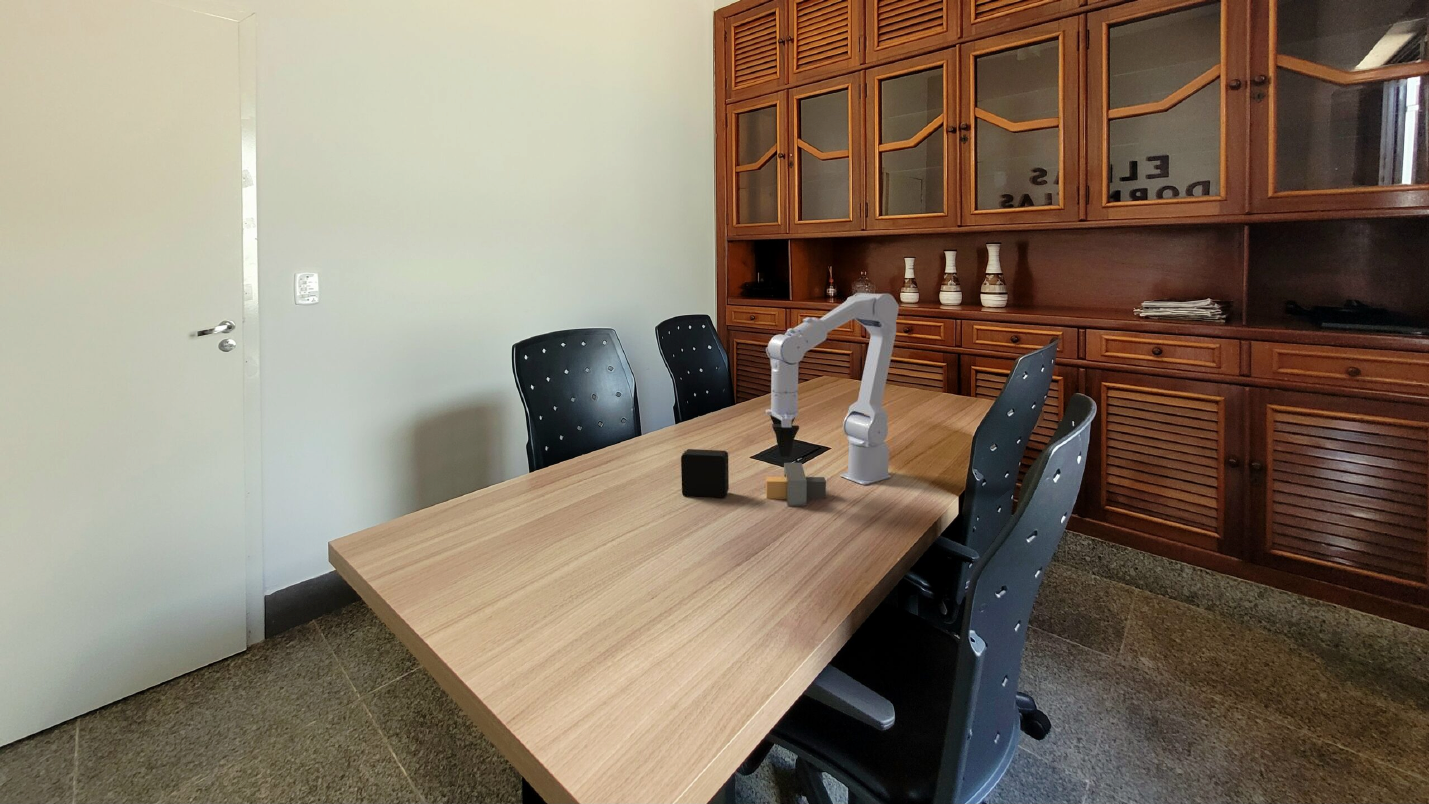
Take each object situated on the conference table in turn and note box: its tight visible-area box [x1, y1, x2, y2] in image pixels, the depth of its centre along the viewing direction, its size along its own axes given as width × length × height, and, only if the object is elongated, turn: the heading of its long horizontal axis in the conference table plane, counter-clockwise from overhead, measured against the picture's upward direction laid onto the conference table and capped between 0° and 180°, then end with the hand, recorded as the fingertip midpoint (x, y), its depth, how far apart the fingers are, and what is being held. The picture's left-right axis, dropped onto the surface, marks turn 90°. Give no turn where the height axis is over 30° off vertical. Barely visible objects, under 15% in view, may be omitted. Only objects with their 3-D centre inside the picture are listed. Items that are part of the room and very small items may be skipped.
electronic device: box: [680, 448, 730, 500], centre depth 137 cm, size 4×10×10 cm, turn 78°
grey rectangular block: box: [783, 462, 807, 507], centre depth 136 cm, size 4×12×6 cm, turn 177°
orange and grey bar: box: [765, 476, 827, 500], centre depth 136 cm, size 13×3×4 cm, turn 87°
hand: (783, 451), depth 134 cm, fingers open, 7 cm apart
